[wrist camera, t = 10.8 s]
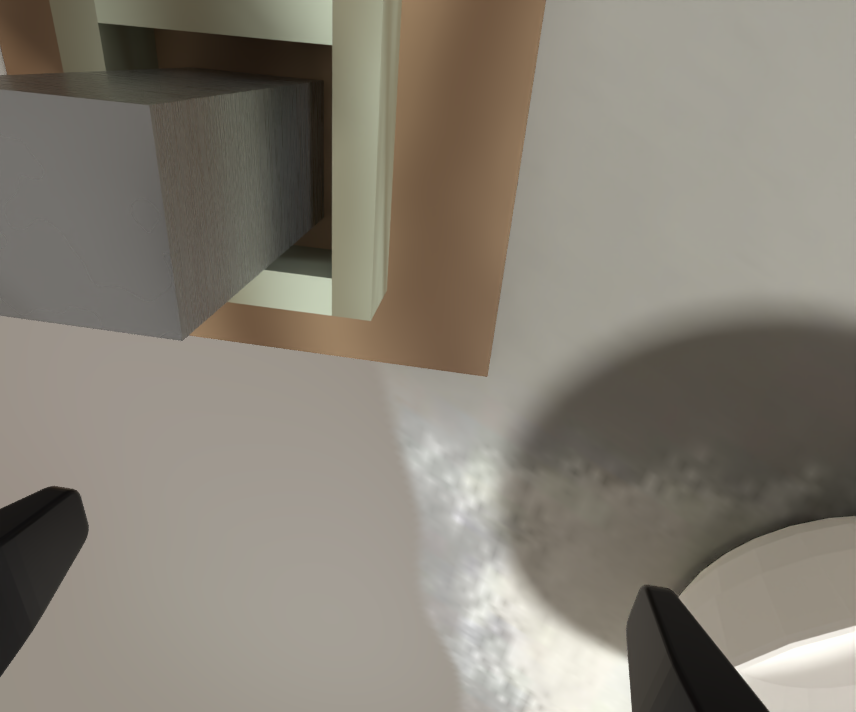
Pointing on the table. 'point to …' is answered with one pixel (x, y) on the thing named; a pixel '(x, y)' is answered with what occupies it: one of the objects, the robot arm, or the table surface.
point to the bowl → (787, 614)
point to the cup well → (351, 154)
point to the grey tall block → (151, 192)
